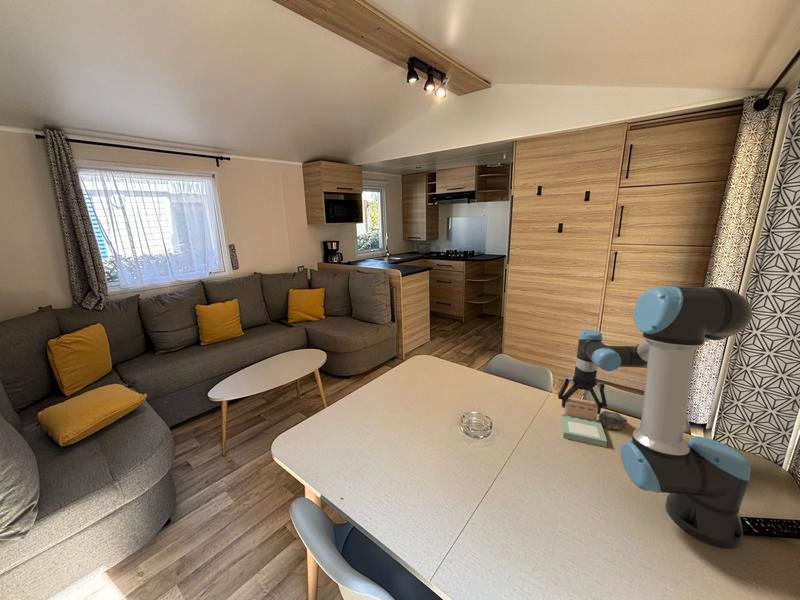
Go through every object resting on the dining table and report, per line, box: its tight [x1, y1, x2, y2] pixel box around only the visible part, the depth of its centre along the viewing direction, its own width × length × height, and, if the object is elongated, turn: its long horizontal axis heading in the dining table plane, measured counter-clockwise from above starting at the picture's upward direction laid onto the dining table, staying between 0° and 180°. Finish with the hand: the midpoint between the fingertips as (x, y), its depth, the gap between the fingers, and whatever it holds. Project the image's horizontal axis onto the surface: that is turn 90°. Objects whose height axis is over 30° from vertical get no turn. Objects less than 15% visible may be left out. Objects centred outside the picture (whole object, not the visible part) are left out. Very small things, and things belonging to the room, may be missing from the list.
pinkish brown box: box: [566, 396, 597, 421], centre depth 129 cm, size 5×10×8 cm, turn 67°
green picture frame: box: [560, 414, 608, 448], centre depth 121 cm, size 12×14×3 cm
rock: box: [597, 410, 628, 431], centre depth 127 cm, size 9×11×4 cm
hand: (579, 416), depth 129 cm, fingers closed on pinkish brown box, 10 cm apart
